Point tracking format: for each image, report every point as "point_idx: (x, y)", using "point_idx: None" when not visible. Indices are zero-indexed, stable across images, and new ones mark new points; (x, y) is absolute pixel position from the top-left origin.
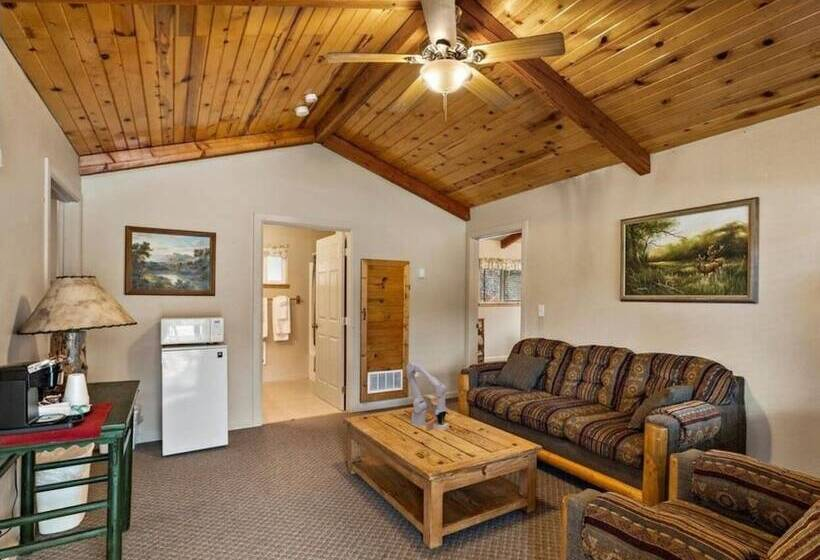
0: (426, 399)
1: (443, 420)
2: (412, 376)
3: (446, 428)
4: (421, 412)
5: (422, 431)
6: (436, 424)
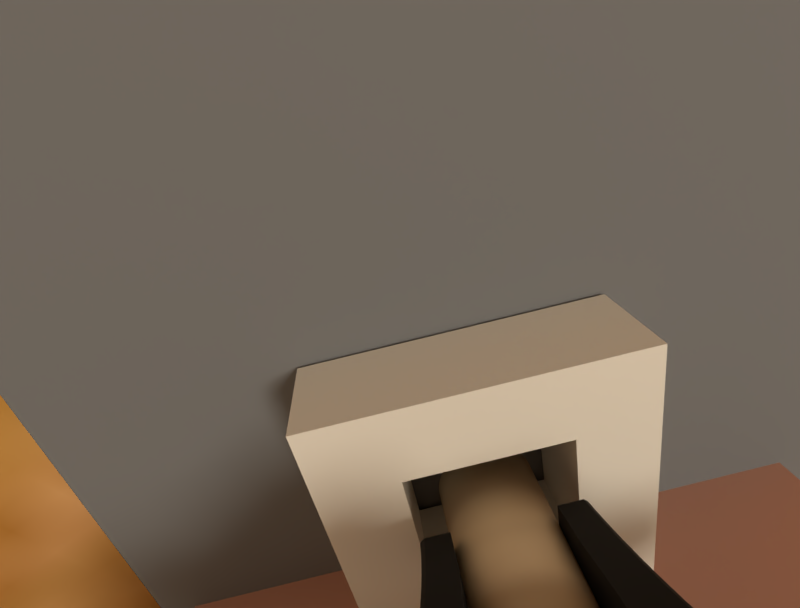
0: None
1: (464, 595)
2: None
3: (461, 332)
4: None
5: None
6: None
